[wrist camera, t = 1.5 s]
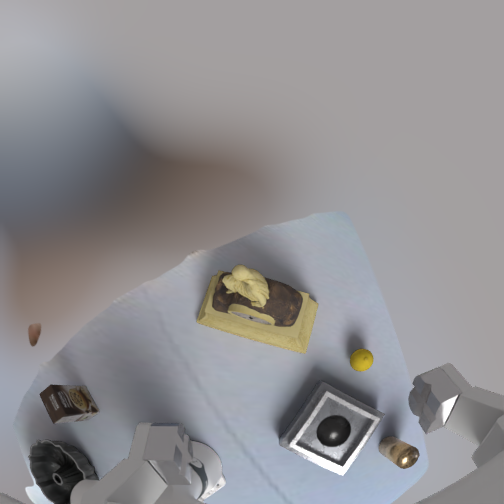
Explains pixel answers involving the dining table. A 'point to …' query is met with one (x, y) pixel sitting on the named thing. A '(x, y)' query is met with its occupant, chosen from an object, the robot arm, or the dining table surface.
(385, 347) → the dining table surface
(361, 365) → the lemon
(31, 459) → the bundt pan
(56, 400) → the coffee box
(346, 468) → the housing
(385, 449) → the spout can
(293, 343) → the decorative clock
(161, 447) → the robot arm
